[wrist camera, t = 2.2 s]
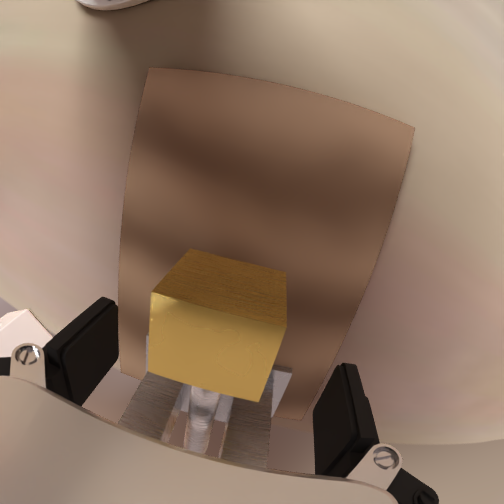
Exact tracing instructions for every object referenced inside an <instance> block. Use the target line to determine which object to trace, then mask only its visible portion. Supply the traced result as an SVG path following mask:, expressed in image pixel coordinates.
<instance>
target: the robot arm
mask: <svg viewBox="0 0 504 504" xmlns="http://www.w3.org/2000/svg"><path fill="white" fill-rule="evenodd" d="M76 1H77V2H79V3H81V4H82V5H84V6H86V7H89V8H92V9H95V10H115V9H122V8H126V7H130V6H134V5H137V4H140V3H143V2H146V1H149V0H76ZM118 356H119V343H118V306H117V305H115V301H113V300H111V299H108V298H105V297H101V298H100V299H98V300H97V301H96V302H95V303H93V304H92V305H91V306H90V307H89V308H87V309H86V310H85V311H84V312H83V313H81V314H80V315H79V316H78V317H77V318H75V319H74V320H73V321H72V322H71V323H69V324H68V325H67V326H66V327H65V328H64V329H62V330H61V331H60V332H59V333H58V334H57V335H55V336H54V337H53V338H52V339H51V340H50V341H49V342H47V343H46V344H45V346H44V347H43V348H41V347H39V346H38V345H36V344H33V343H23V344H21V345H18V346H17V347H15V349H14V350H13V351H12V355H11V357H0V504H439V499H438V496H437V494H436V492H435V491H434V490H433V489H432V488H430V487H429V486H427V485H425V484H424V483H422V482H421V481H420V480H418V479H417V478H415V477H414V476H412V475H411V474H409V473H408V472H406V471H405V470H404V469H402V468H401V466H402V462H403V458H402V456H401V453H400V452H399V451H398V450H397V449H396V448H395V447H393V446H391V445H389V444H385V443H382V444H380V442H379V438H378V434H377V430H376V426H375V422H374V418H373V415H372V411H371V407H370V403H369V400H368V398H367V397H366V396H365V394H364V390H363V387H362V383H361V379H360V376H359V372H358V369H357V366H356V365H355V364H349V363H342V364H341V365H337V366H336V368H335V370H334V372H333V374H332V376H331V378H330V380H329V382H328V384H327V385H326V387H325V389H324V391H323V393H322V395H321V397H320V399H319V400H318V402H317V404H316V406H315V408H314V410H313V429H314V451H315V475H314V474H305V473H295V472H289V471H282V470H276V469H269V468H263V467H258V466H252V465H247V464H242V463H238V462H233V461H229V460H224V459H220V458H216V457H212V456H209V455H205V454H201V453H198V452H194V451H191V450H187V449H184V448H181V447H177V446H175V445H172V444H169V443H166V442H163V441H160V440H157V439H154V438H152V437H149V436H146V435H144V434H141V433H138V432H136V431H133V430H131V429H129V428H126V427H124V426H121V425H119V424H117V423H114V422H112V421H110V420H108V419H106V418H103V417H101V416H99V415H97V414H95V413H93V412H91V411H89V410H87V409H85V408H83V407H81V406H82V404H83V403H84V402H85V401H86V399H87V398H88V397H89V396H90V394H91V393H92V391H93V390H94V389H95V388H96V386H97V385H98V384H99V383H100V381H101V380H102V379H103V377H104V376H105V375H106V374H107V372H108V371H109V370H110V368H111V367H112V366H113V365H114V363H115V362H116V361H117V359H118Z"/></svg>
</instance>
